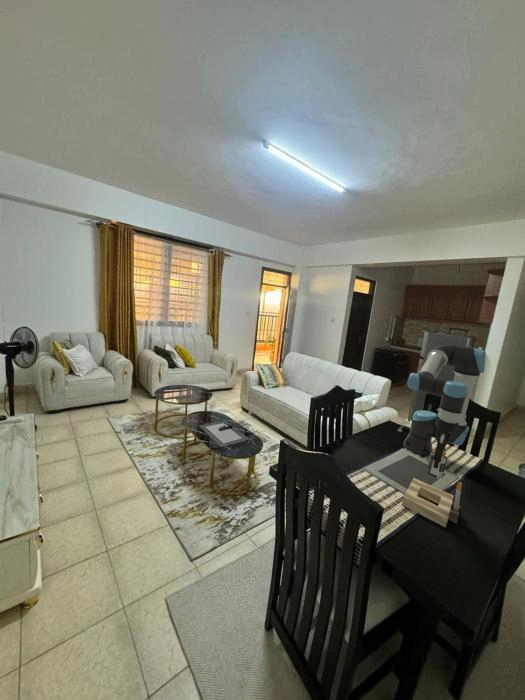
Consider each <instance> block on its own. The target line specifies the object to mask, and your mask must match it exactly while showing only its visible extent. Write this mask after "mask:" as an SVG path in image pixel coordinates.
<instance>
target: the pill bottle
mask: <svg viewBox="0 0 525 700" xmlns="http://www.w3.org/2000/svg"><path fill="white" fill-rule="evenodd" d="M435 450H436V447H434V449H433V451H432V453H431V454H430V455H429V458H428V462H427V468H426V473H427V474H428V475H429V476H430V477H432V478H434V479H442V478H443V476H444V473H445V469H446V465H447V461H448V458H447V456H446V455H445V454H447V451H446V450H445V451H443V455H442V458H441V465H440V469H439V473H438V476H436V475H434V474H432V473H430V471H431V467H432V463H433V459H432V457H434V454H435Z"/></svg>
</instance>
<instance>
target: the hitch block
mask: <svg viewBox="0 0 525 700" xmlns="http://www.w3.org/2000/svg"><path fill="white" fill-rule="evenodd" d="M420 495H421V496H420ZM422 496H423V497H422ZM402 497H403V499H402V503H401V505H402V506H403V507H404V508H407V509H408V510H411V511H412V510H413V512H414V511H415V512H414V513H416V512H417V513H416V514H418V513H419V514H418V515H421V516H423V517H424V518H427V519H428V520H430V521H432V522H434V523H436V524H438V525H440V526H442V527H444V528H447V524H448V521H450V522H452V523H454V524H458V520H459V516H460V510H461V505H459V507H458V513H457V512H455V511H453V509H454V502H453V500H454V498H455V495H453V494H451V493H448V492H447V491H444V490H441V489H439V488H438V487H435V486H433V485H431V484H428V483H425V482H424V481H422V480H419V479H418V478H417V479H416V478H415V477H413V479H412V480H411V482H410V484H409V486H408V488H407V490H406V492H405V493H404V495H403V496H402ZM424 497H425V498H424ZM426 498H427V500H426ZM428 499H430V500H429V501H428ZM431 500H432V501H431ZM434 503H435V504H434ZM436 504H437V505H436Z"/></svg>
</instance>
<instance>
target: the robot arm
mask: <svg viewBox="0 0 525 700" xmlns="http://www.w3.org/2000/svg"><path fill="white" fill-rule="evenodd" d="M486 354H487V353H486V351H485V350H484V349H480V348H475V347H469V346H461V345H457V344H456V345H455V344H443V345H439V346H436V347H433V348H432V349H431V350H429V351H428V353H427V355H426V360H425V362H424V363H423V365H422V366H421V368H420V370H419V371H418V372H417V373H416V372H411V373H410V374H409V376H408V380H407V387H408V389H411V390H413V391H416V392H422V393H425V394H429V395H433V396H437V397H440V398H441V399H440V404H439V408H436V411H438V413H435V412H433V411H429V410H416V411H415V412H413V415H412V418H411V425H410V429H409V433H408V434H407V436H406V438H405V439H404V441H403V447H404V448H405V449H406V450H408V451H410V452H411V453H414V454H417V455H419V456H426V457H427V456H430V454H431V453H432V452H434V449H433V443H432V438H434V439H436V446H435V448H436V450H435V454H434V457H432V459H433V463H432V467H431V471H430V473H432V474H434V475H436V476H438V473H439V469H440V465H441V458H442V455H443V451H445V452H446V448H447V445H448V443H449V444H450V445H455V446H462V445H463V444H464V442H465V439H466V437H467V435H468V432H469V429H470V427H469V426H468V425H467V424H468V423H467V421H466V420H465V417H466V414H467V410H468V408H469V407H468V405H469V402H470V398H471V394H472V390H473V386H474V384H475V379H476V378H478V377H480V375H481V374H483V373H485V367H486V358H487V357H486ZM443 366H447V367H451V368H452V371H453V373H454V378H453V380H446V379H442V378H438V376H439V374H440V372H441V370H442V368H443ZM446 454H447V453H446ZM446 454H445V456H446Z"/></svg>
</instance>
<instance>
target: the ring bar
mask: <svg viewBox="0 0 525 700" xmlns="http://www.w3.org/2000/svg"><path fill="white" fill-rule="evenodd" d="M462 485H463V482H461V481H459V480H458V481H457V483H456V489H455V495H454V502H453V503H454V509H453V511H455V512H457V513H458V507H459V506H460V498H461V494H462V493H461V491H462Z"/></svg>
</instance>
